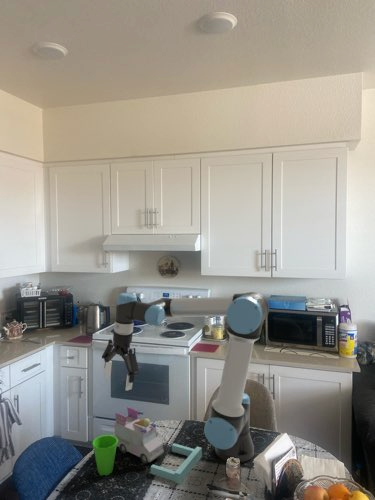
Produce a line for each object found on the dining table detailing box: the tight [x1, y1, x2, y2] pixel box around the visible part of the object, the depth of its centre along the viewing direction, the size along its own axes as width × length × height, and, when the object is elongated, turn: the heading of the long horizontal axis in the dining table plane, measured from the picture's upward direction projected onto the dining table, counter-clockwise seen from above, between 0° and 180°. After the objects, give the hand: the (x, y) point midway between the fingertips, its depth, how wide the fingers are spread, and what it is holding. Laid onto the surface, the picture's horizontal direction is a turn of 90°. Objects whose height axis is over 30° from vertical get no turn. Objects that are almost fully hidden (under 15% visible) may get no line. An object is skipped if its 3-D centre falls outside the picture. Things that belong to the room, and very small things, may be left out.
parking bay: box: [150, 443, 203, 485], centre depth 139 cm, size 12×18×4 cm, turn 153°
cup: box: [91, 434, 118, 476], centre depth 135 cm, size 9×9×11 cm
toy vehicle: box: [114, 406, 165, 465], centre depth 146 cm, size 9×20×15 cm, turn 53°
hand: (117, 383), depth 152 cm, fingers open, 13 cm apart
